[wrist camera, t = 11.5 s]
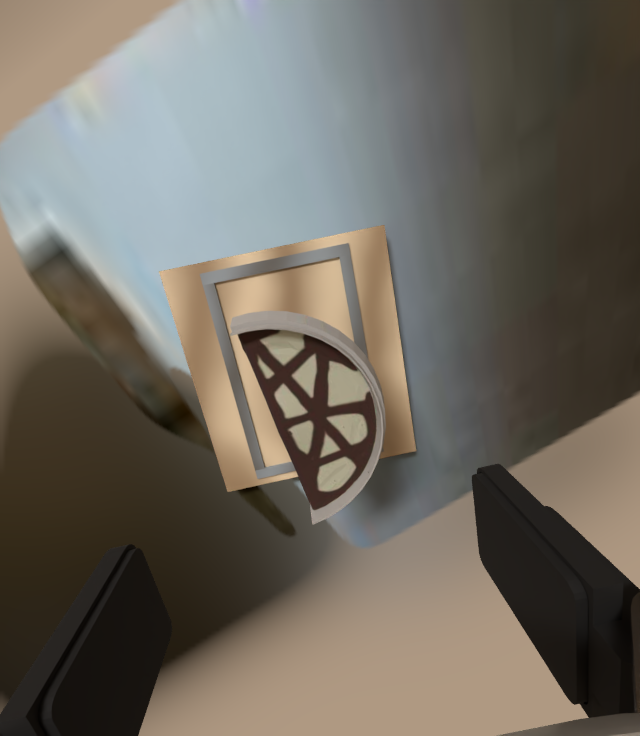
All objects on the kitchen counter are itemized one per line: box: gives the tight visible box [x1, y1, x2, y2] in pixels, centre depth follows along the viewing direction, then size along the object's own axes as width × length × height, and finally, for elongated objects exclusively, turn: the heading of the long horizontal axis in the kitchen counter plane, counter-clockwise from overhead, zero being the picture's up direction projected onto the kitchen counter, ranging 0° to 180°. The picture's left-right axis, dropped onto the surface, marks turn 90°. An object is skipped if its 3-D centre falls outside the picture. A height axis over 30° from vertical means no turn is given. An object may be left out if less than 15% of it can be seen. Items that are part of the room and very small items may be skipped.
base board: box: [159, 225, 416, 492], centre depth 29 cm, size 16×18×2 cm
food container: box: [230, 311, 386, 524], centre depth 23 cm, size 12×6×10 cm, turn 20°
